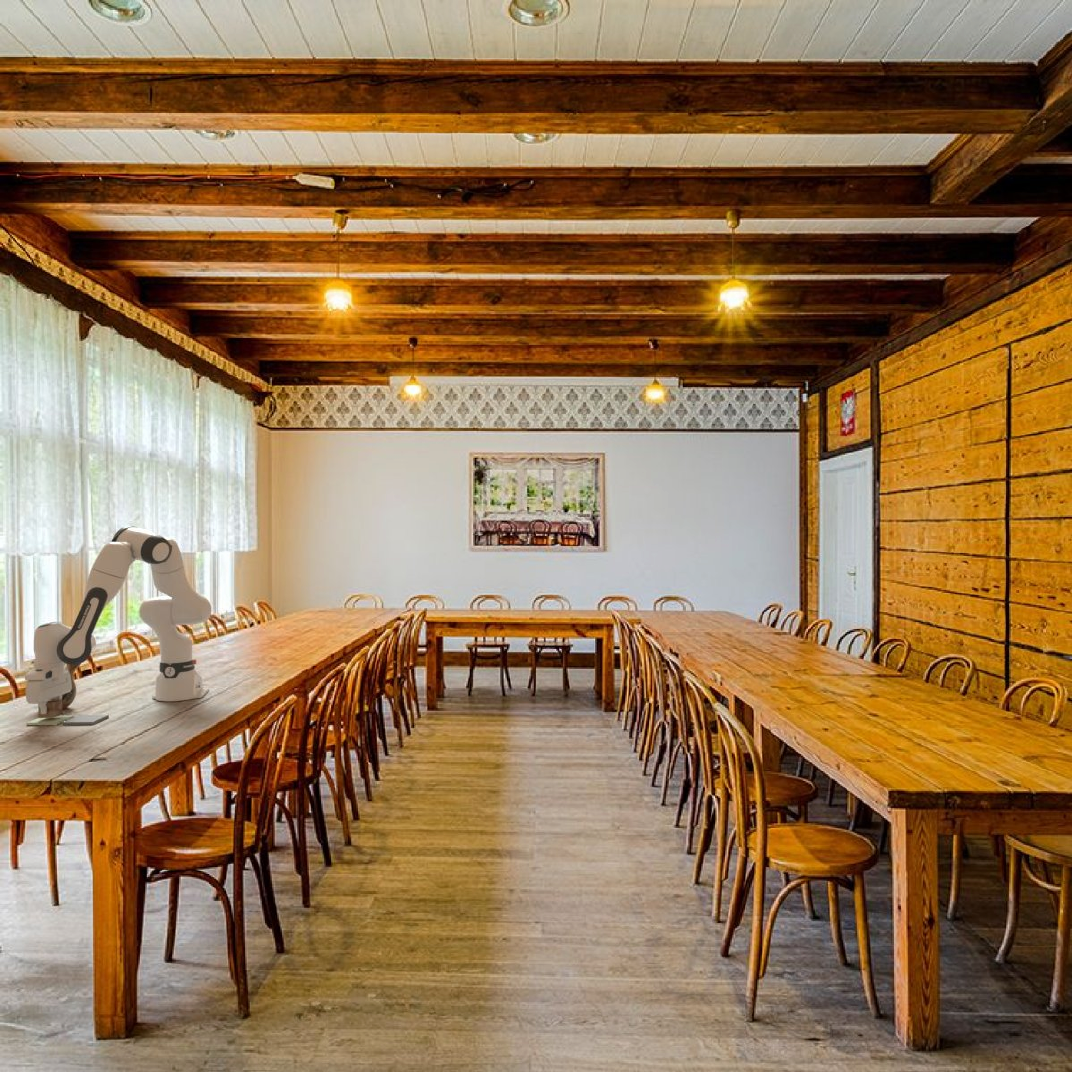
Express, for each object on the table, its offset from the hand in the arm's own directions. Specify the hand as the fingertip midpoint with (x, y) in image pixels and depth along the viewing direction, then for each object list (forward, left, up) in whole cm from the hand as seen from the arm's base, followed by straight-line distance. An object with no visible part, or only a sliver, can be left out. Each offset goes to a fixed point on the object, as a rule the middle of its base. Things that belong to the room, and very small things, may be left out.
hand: (50, 711), depth 271 cm
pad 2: (0, +12, -4) cm, 12 cm away
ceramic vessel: (-20, -9, -4) cm, 22 cm away
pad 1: (0, 0, -4) cm, 4 cm away
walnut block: (0, 0, -2) cm, 2 cm away
